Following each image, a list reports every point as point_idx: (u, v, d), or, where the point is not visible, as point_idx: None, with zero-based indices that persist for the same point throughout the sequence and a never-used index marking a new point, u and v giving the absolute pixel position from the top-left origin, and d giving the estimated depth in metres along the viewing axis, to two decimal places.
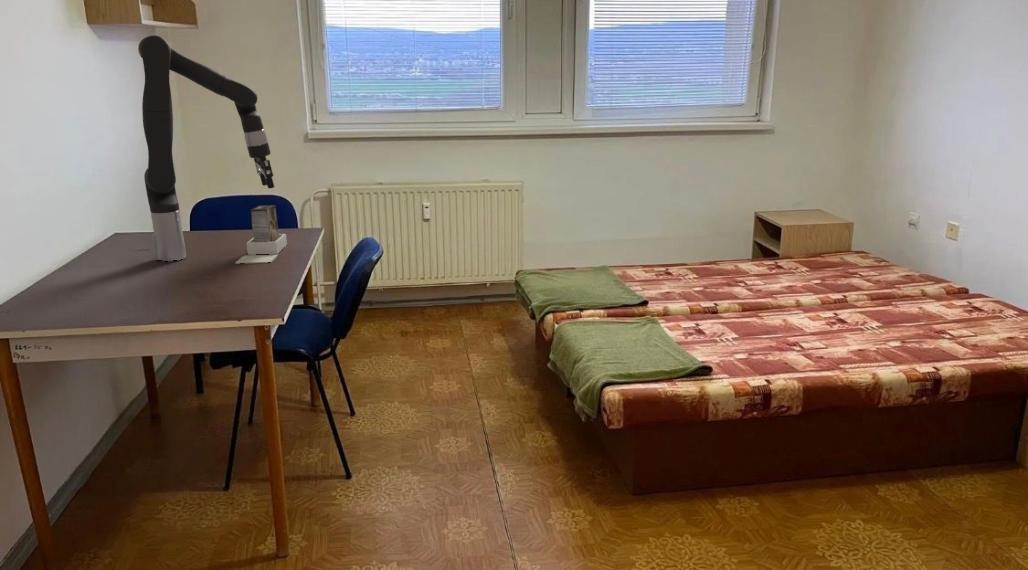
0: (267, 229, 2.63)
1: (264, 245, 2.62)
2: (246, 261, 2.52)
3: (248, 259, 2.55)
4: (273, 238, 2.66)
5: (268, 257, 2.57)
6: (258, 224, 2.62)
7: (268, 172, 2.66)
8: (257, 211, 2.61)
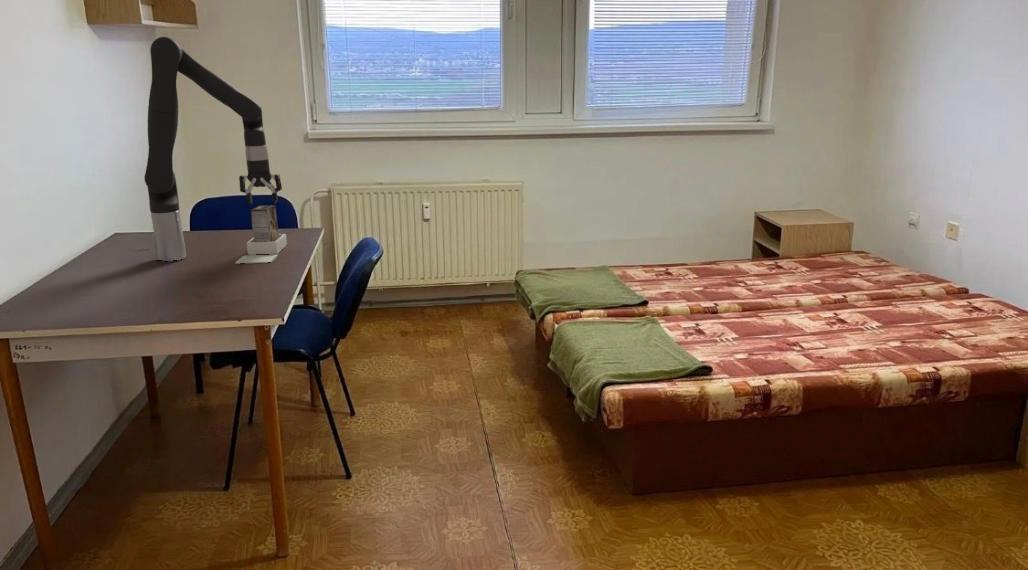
0: (267, 229, 2.63)
1: (264, 245, 2.62)
2: (246, 261, 2.52)
3: (248, 259, 2.55)
4: (273, 238, 2.66)
5: (268, 257, 2.57)
6: (258, 224, 2.62)
7: None
8: (257, 211, 2.61)
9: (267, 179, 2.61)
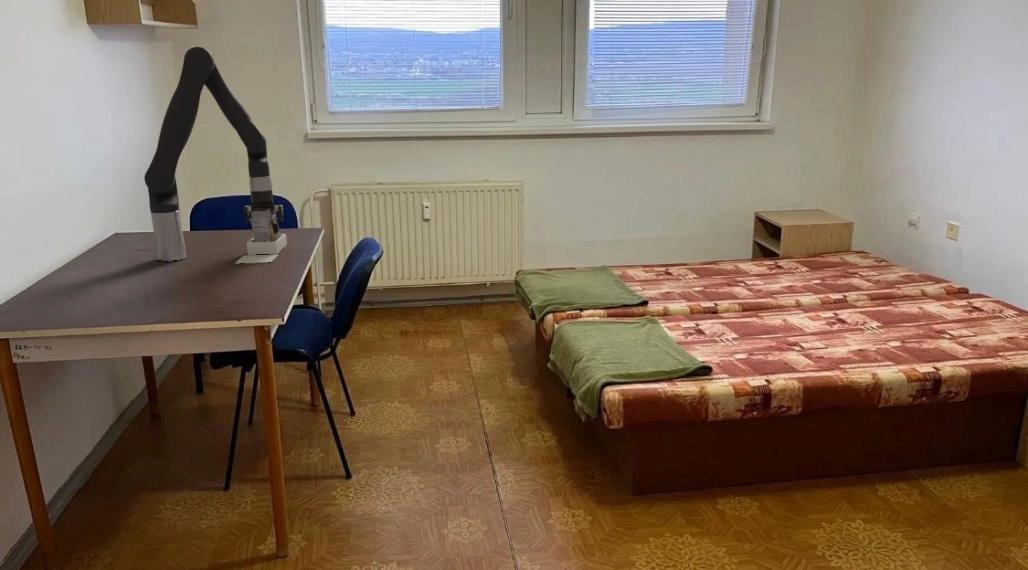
0: (267, 229, 2.63)
1: (264, 245, 2.62)
2: (246, 261, 2.52)
3: (248, 259, 2.55)
4: (273, 238, 2.66)
5: (268, 257, 2.57)
6: (258, 224, 2.62)
7: None
8: (257, 211, 2.61)
9: None
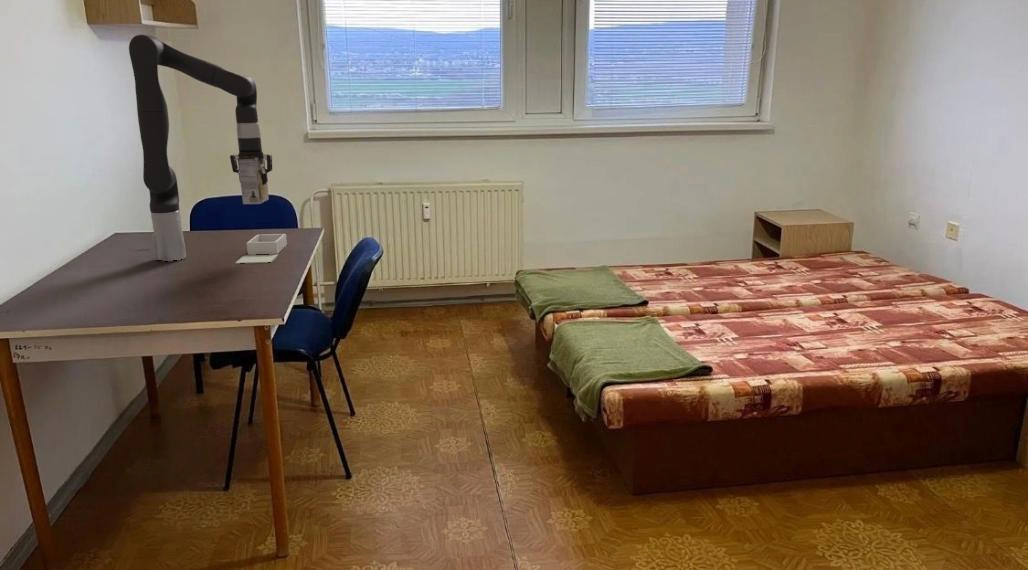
0: (256, 178, 2.50)
1: (264, 245, 2.62)
2: (246, 261, 2.52)
3: (248, 259, 2.55)
4: (261, 189, 2.54)
5: (268, 257, 2.57)
6: (245, 173, 2.50)
7: None
8: (245, 159, 2.49)
9: None
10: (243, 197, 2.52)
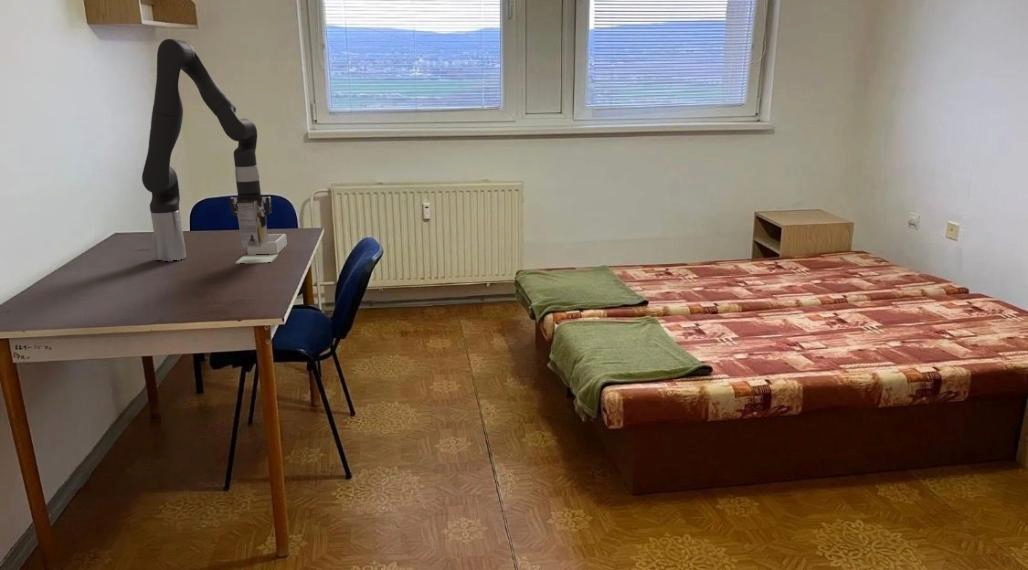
0: (254, 222, 2.48)
1: (264, 245, 2.62)
2: (246, 261, 2.52)
3: (248, 259, 2.55)
4: (260, 232, 2.51)
5: (268, 257, 2.57)
6: (244, 217, 2.47)
7: None
8: (243, 203, 2.46)
9: (258, 201, 2.49)
10: (242, 240, 2.50)
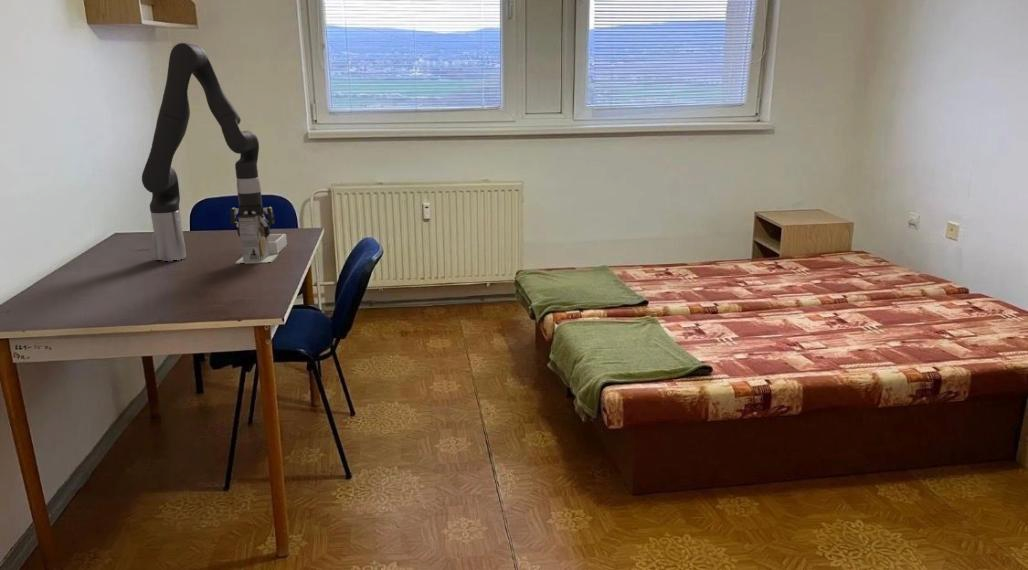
0: (256, 236, 2.49)
1: None
2: None
3: None
4: (262, 246, 2.53)
5: (268, 257, 2.57)
6: (246, 231, 2.49)
7: None
8: (245, 217, 2.47)
9: (259, 212, 2.50)
10: (243, 255, 2.51)
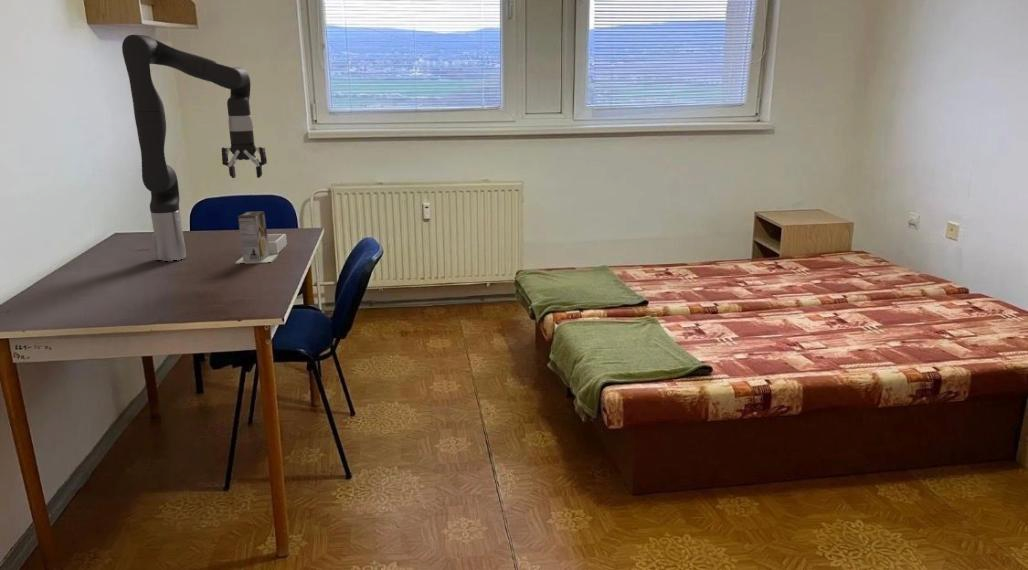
0: (256, 236, 2.49)
1: None
2: None
3: None
4: (262, 246, 2.53)
5: (268, 257, 2.57)
6: (246, 231, 2.49)
7: None
8: (245, 217, 2.47)
9: (251, 152, 2.46)
10: (243, 255, 2.51)
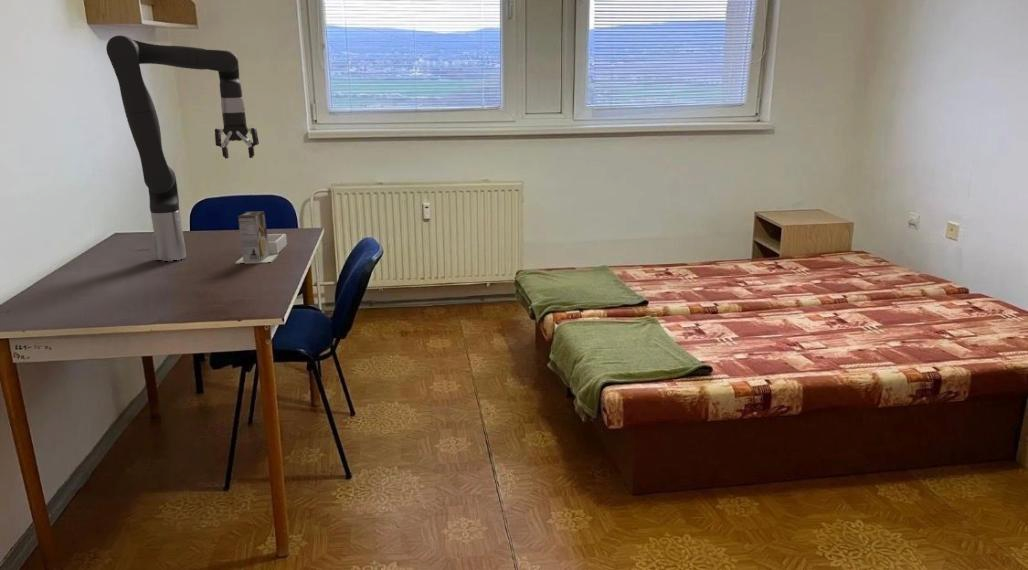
0: (256, 236, 2.49)
1: None
2: None
3: None
4: (262, 246, 2.53)
5: (268, 257, 2.57)
6: (246, 231, 2.49)
7: None
8: (245, 217, 2.47)
9: (243, 133, 2.55)
10: (243, 255, 2.51)
